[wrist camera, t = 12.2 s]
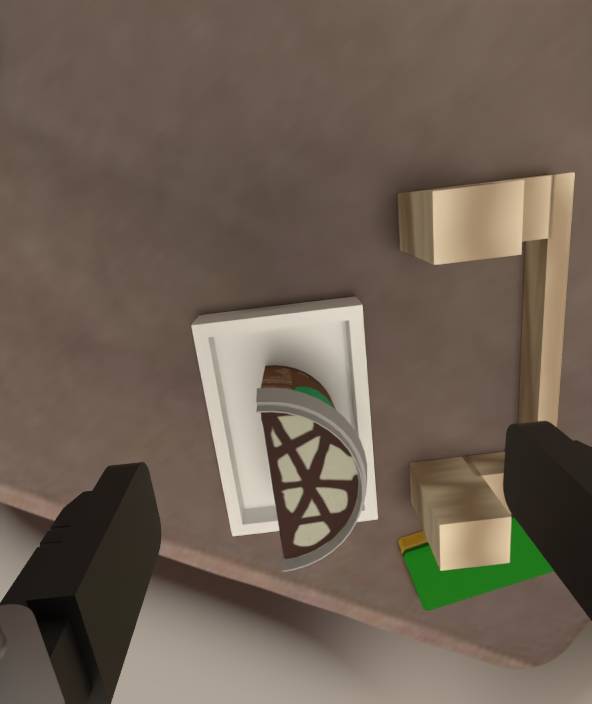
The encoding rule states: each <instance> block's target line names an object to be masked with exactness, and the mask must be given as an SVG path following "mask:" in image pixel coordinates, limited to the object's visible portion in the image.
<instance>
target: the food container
mask: <svg viewBox="0 0 592 704" xmlns="http://www.w3.org/2000/svg"><path fill="white" fill-rule="evenodd" d="M256 404H257V409H256V413H261V421H262V424H263V429H264V435H265V442H266V448H267V455H268V461H269V467H270V474H271V481H272V488H273V494H274V500H275V505H276V512H277V518H278V525H279V531H280V537H281V543H282V572H286V571H291V570H296V569H299V568H302V567H305V566H308V565H310V564H313V563H315V562H317V561H319V560H321V559H322V558H324V557H326V556H327V555H329V554H330V553H332V552H333V551H334V550H335V549H336V548H337V547H338V546H340V545H341V544H342V543H343V542H344V540H345V539H346V538H347V537H348V536H349V534H350V533H351V531H352V530H353V528H354V526H355V524H356V523H357V520H358V518H359V516H360V514H361V511H362V508H363V506H364V501H365V496H366V489H367V461H366V456H365V451H364V449H363V446H362V443H361V441H360V439H359V437H358V435H357V434H356V432H355V430H354V428H353V427H352V426H351V425H350V424H349V422H348V421H347V420H346V419H345V418H344V417H343V416H342V415H341V414H340V413H339V412H337V411H336V409H335V406H334V404H333V402H332V399H331V397H330V395H329V394H328V392H327V391H326V389H325V388H324V387H323V386H322V384H321V383H320V382H319V381H317V380H316V379H315V378H314V377H312V376H311V375H309V374H307V373H305V372H303V371H301V370H298V369H296V368H292V367H288V366H279V365H272V366H265V369H264V374H263V379H262V384H261V388H257V396H256Z"/></svg>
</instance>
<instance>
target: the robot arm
mask: <svg viewBox="0 0 592 704" xmlns="http://www.w3.org/2000/svg"><path fill="white" fill-rule="evenodd" d="M503 492H504V497H505V500H506V503H507V506H508V508H509V510H510V512H511V514H512V515H513V516H514V518H515V519H516V520H517V522H518V523H519V524H520V526H521V527H522V528H523V530H524V531H525V533H526V534H527V535H528V537H529V538H530V539H531V541H532V542H533V543H534V545H535V546H536V547H537V549H538V550H539V551H540V553H541V554H542V555H543V557H544V558H545V559H546V561H547V562H548V563H549V565H550V566H551V567H552V569H553V570H554V571H555V573H556V574H557V575H558V577H559V578H560V579H561V581H562V582H563V583H564V585H565V586H566V587H567V589H568V590H569V591H570V593H571V594H572V595H573V597H574V598H575V599H576V601H577V602H578V603H579V605H580V606H581V607H582V609H583V610H584V611H585V613H586V614H587V615H588V617H589V618H590V619H591V621H592V447H590V446H588V445H585V444H583V443H581V442H579V441H577V440H576V441H572V440H571V439H570V438H569V437H568V436H566V435H565V434H564V433H563V432H561V431H560V430H559V429H558V428H557V427H555V426H554V425H553V424H552V423H550V422H548V421H537V422H528V423H518V424H511V425H510V426H509V427H508V429H507V433H506V445H505V460H504V475H503ZM160 544H161V523H160V517H159V513H158V508H157V504H156V500H155V495H154V491H153V486H152V482H151V478H150V473H149V470H148V467H147V465H146V464H145V463H144V462H140V463H131V464H121V465H112V466H108V467H107V468H106V469H105V471H104V472H103V474H102V476H101V477H100V479H99V481H98V482H97V484H96V485H95V487H94V489H93V490H92V491H86V492H83V493H81V494H80V495H79V496H78V497H76V498H75V499H74V500H73V501H72V502H70V503H69V504H68V505H67V506H66V507H64V508H63V509H62V511H61V512H60V514H59V515H58V517H57V518H56V520H55V521H54V523H53V525H52V526H51V530H50V531H48V532H47V534H46V535H45V536H44V538H43V540H42V541H41V543H40V547H37V549H36V550H35V551H34V553H33V554H32V556H31V558H30V559H29V561H28V562H27V564H26V565H25V567H24V568H23V570H22V571H21V572H20V574H19V576H18V577H17V579H16V580H15V582H14V583H13V585H12V586H11V588H10V589H9V591H8V592H7V594H6V595H5V597H4V598H3V600H2V601H1V603H0V704H111V701H112V698H113V695H114V692H115V689H116V685H117V682H118V679H119V676H120V673H121V670H122V667H123V663H124V660H125V657H126V654H127V651H128V648H129V644H130V641H131V638H132V635H133V632H134V629H135V626H136V622H137V619H138V616H139V613H140V610H141V607H142V604H143V600H144V597H145V594H146V591H147V588H148V585H149V582H150V578H151V575H152V572H153V569H154V566H155V563H156V559H157V556H158V553H159V550H160Z"/></svg>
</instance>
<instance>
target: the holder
mask: <svg viewBox="0 0 592 704" xmlns="http://www.w3.org/2000/svg"><path fill="white" fill-rule="evenodd" d="M574 176H575V172H573V173H562V174H551V175H543V176H534V177H526V178H518V179H510V180H502V181H494V182H485V183H477V184H469V185H461V186H453V187H444V188H436V189H428V190H420V191H412V192H404V193H398V215H399V237H400V251H403V252H405V253H407V254H410V255H412V256H414V257H417V258H419V259H421V260H424V261H426V262H428V263H431V264H433V265H438V264H446V263H455V262H463V261H471V260H480V259H488V258H496V257H505V256H513V255H521V254H522V242H523V241H525V262H524V287H523V312H522V336H521V361H520V386H519V410H518V423H528V422H537V421H548V422H550V423H552V424H553V425H554V426H555V427H557V417H558V403H559V389H560V375H561V361H562V346H563V332H564V318H565V304H566V290H567V275H568V261H569V247H570V233H571V219H572V204H573V190H574ZM504 460H505V452H496V453H487V454H479V455H470V456H462V457H453V458H444V459H436V460H427V461H419V462H410V463H409V466H410V489H411V503H412V505H413V507H414V510H415V512H416V514H417V517H418V519H419V522H420V524H421V526H422V529H423V531H424V533H425V536H426V538H427V540H428V543H429V545H430V547H431V550H432V552H433V554H434V557H435V559H436V561H437V564H438V566H439V568H440V571H443V570H452V569H461V568H469V567H478V566H487V565H496V564H504V563H510V542H511V515H510V514H511V512H510V510H509V508H508V506H507V503H506V500H505V497H504V492H503V475H504Z"/></svg>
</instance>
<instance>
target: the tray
mask: <svg viewBox="0 0 592 704" xmlns="http://www.w3.org/2000/svg"><path fill="white" fill-rule="evenodd" d="M191 327H192V332H193V337H194V342H195V347H196V352H197V358H198V363H199V368H200V373H201V378H202V383H203V388H204V393H205V399H206V404H207V409H208V414H209V419H210V424H211V429H212V434H213V440H214V445H215V450H216V455H217V460H218V465H219V470H220V475H221V481H222V486H223V491H224V496H225V501H226V506H227V511H228V516H229V522H230V527H231V532H232V536H239V535H247V534H256V533H265V532H273V531H279V525H278V518H277V512H276V505H275V500H274V494H273V488H272V481H271V474H270V467H269V461H268V455H267V448H266V442H265V435H264V429H263V424H262V421H261V413H256V409H257V404H256V396H257V388H261V384H262V379H263V374H264V369H265V366H272V365H279V366H288V367H292V368H296V369H298V370H301V371H303V372H305V373H307V374H309V375H311V376H312V377H314V378H315V379H316V380H317V381H319V382H320V383H321V384H322V386H323V387H324V388H325V389H326V391H327V392H328V394H329V395H330V397H331V399H332V402H333V404H334V406H335V409H336V411H337V412H339V413H340V414H341V415H342V416H343V417H344V418H345V419H346V420H347V421H348V422H349V424H350V425H351V426H352V427H353V428H354V430H355V432H356V434H357V435H358V437H359V439H360V441H361V443H362V446H363V449H364V451H365V456H366V461H367V489H366V496H365V501H364V506H363V508H362V511H361V514H360V516H359V518H358V520H357V522H359V521H368V520H377V519H378V514H377V500H376V486H375V472H374V458H373V445H372V431H371V417H370V403H369V389H368V376H367V362H366V348H365V334H364V321H363V307H362V304H361V302H360V301H359V300H358V298H357V297H356V296H354V297H345V298H337V299H329V300H321V301H312V302H304V303H296V304H287V305H279V306H271V307H263V308H254V309H246V310H238V311H230V312H221V313H213V314H205V315H198V317H197V318H196V320H195V321H194V322H193V324H192V325H191Z"/></svg>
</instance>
